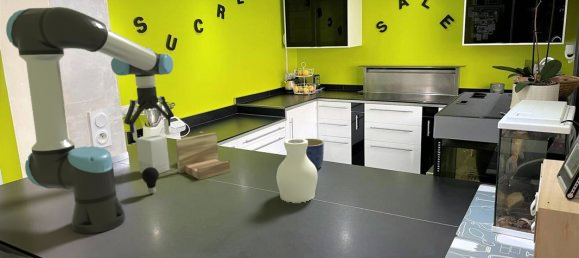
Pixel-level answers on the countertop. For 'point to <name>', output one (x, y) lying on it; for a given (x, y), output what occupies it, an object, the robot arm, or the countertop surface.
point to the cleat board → (200, 156)
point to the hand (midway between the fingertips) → (151, 137)
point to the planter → (315, 151)
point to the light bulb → (150, 178)
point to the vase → (296, 173)
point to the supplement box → (153, 153)
